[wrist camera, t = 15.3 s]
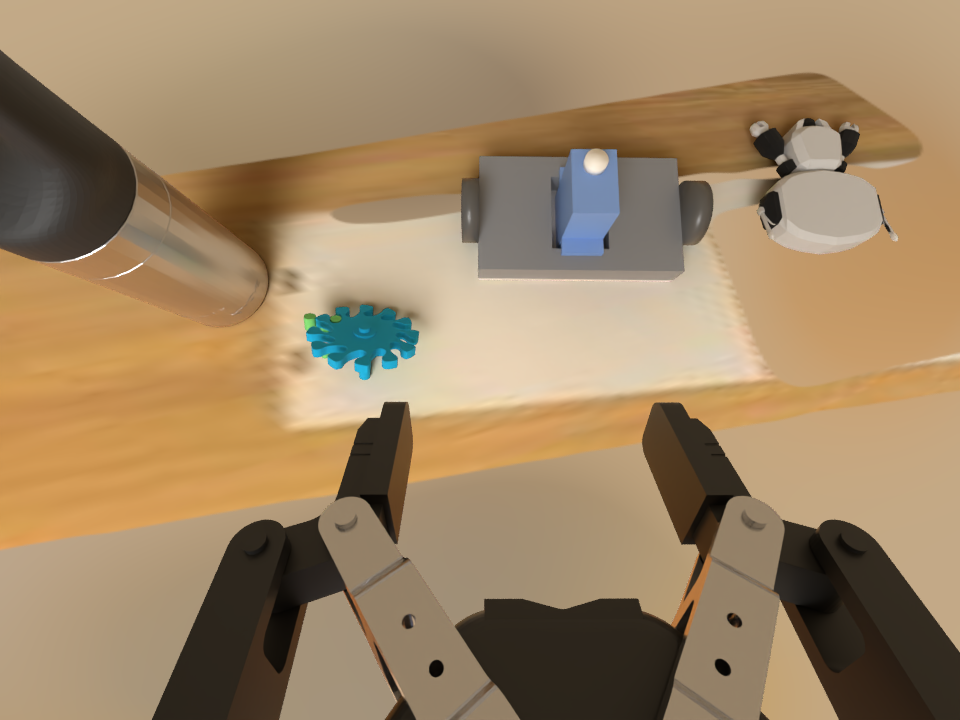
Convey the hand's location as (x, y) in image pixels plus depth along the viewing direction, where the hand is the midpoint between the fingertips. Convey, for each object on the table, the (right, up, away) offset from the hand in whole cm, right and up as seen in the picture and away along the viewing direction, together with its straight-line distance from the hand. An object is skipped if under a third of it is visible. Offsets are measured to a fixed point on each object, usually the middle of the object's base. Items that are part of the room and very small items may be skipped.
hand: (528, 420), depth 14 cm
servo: (+8, +16, +31) cm, 36 cm away
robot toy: (+33, +20, +32) cm, 50 cm away
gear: (-13, +4, +29) cm, 32 cm away
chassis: (+8, +16, +31) cm, 36 cm away
